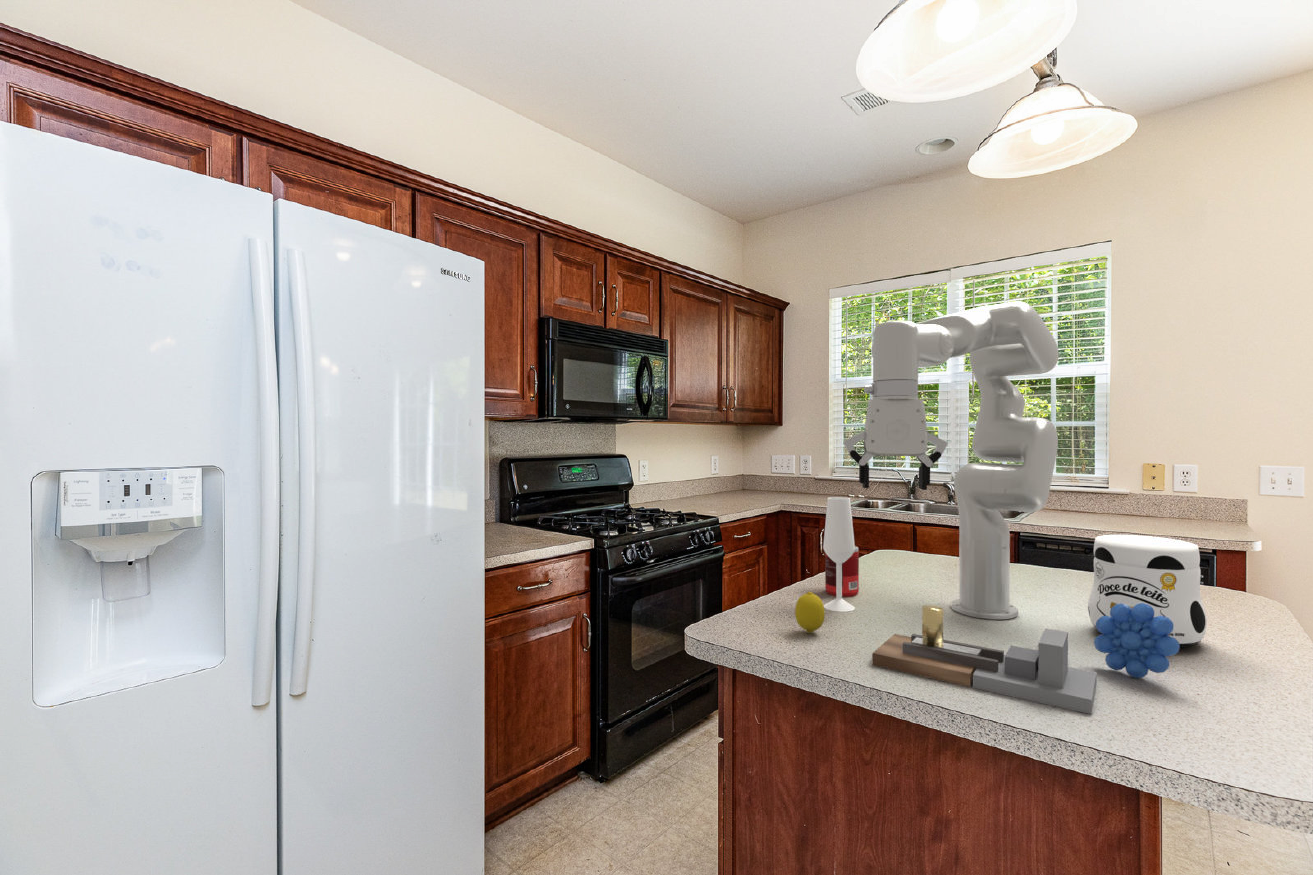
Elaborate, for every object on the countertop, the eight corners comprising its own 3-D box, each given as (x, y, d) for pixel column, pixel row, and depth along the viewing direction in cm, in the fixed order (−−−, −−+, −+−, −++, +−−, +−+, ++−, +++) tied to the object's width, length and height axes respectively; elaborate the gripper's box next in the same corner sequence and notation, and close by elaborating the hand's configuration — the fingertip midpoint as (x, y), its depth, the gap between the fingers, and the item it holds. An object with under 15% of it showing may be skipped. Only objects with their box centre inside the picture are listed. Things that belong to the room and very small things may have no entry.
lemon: (825, 638, 117) (825, 596, 117) (795, 637, 118) (795, 595, 118) (823, 629, 123) (823, 588, 122) (795, 627, 124) (794, 587, 124)
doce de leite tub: (1104, 648, 111) (1105, 547, 111) (1076, 620, 127) (1076, 531, 127) (1226, 660, 105) (1227, 553, 105) (1181, 628, 121) (1181, 536, 121)
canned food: (859, 589, 152) (859, 544, 152) (858, 598, 144) (858, 551, 144) (826, 587, 154) (826, 543, 154) (824, 595, 147) (824, 549, 147)
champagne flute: (825, 601, 142) (824, 496, 141) (856, 604, 139) (855, 497, 139) (821, 609, 136) (821, 499, 135) (854, 613, 133) (853, 500, 133)
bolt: (916, 645, 107) (916, 602, 107) (981, 658, 101) (981, 613, 101) (911, 651, 104) (911, 607, 104) (977, 664, 98) (977, 617, 98)
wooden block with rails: (894, 644, 114) (894, 625, 114) (1007, 667, 103) (1007, 645, 103) (872, 665, 104) (872, 643, 104) (993, 692, 93) (993, 668, 93)
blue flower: (1193, 685, 95) (1194, 607, 95) (1170, 694, 92) (1170, 613, 92) (1109, 660, 105) (1109, 589, 105) (1085, 667, 102) (1086, 594, 102)
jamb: (987, 663, 104) (988, 615, 104) (1096, 685, 95) (1096, 633, 95) (972, 687, 95) (972, 635, 95) (1091, 714, 86) (1091, 656, 86)
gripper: (846, 390, 109) (845, 488, 109) (953, 390, 106) (951, 491, 106) (842, 393, 116) (841, 485, 116) (941, 393, 113) (940, 488, 113)
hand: (893, 488), depth 111 cm, fingers open, 9 cm apart
